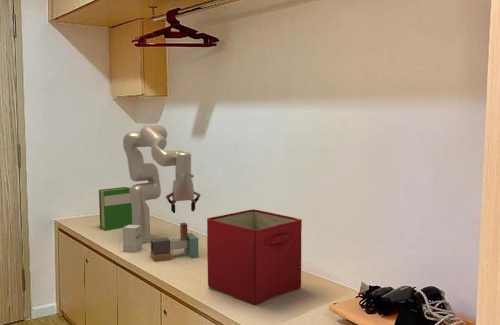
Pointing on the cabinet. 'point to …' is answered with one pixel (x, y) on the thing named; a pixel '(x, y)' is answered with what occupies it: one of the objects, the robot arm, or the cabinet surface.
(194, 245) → the socket
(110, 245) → the cabinet surface
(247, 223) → the storage cube
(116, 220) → the hardback book
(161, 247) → the grey block with backplate
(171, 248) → the multicoloured piece
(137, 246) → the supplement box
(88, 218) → the cabinet surface
